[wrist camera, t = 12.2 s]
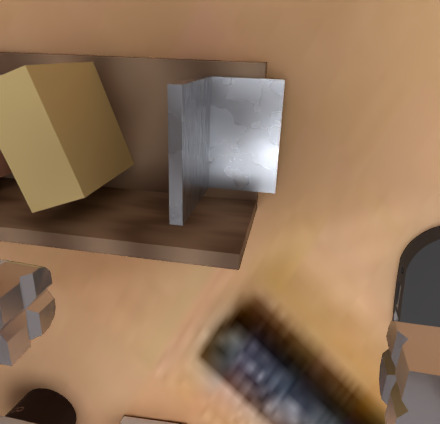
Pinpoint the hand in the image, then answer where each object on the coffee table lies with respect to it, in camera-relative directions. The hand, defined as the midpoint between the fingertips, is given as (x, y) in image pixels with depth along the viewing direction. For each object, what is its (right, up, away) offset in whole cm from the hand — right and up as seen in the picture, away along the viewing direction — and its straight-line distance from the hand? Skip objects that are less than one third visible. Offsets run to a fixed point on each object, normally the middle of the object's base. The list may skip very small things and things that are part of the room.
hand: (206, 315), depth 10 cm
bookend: (+2, +8, +20) cm, 22 cm away
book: (-9, +9, +22) cm, 26 cm away
